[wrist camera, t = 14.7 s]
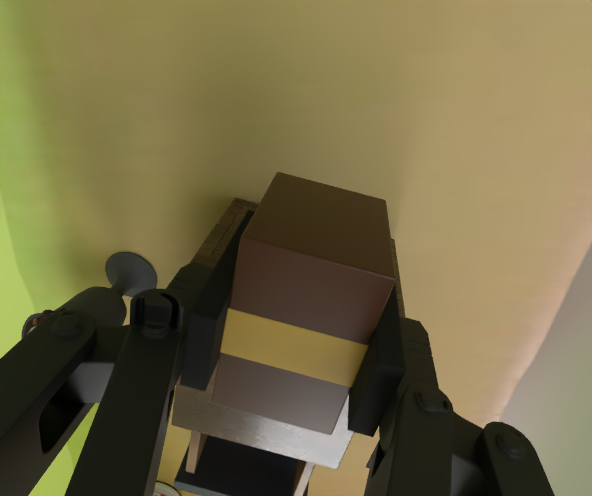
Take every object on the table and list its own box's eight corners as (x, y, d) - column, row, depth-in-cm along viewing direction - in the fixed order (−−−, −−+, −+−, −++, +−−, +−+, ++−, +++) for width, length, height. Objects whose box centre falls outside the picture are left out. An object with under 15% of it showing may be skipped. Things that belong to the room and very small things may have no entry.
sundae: (157, 242, 37) (47, 364, 24) (172, 305, 40) (82, 442, 27) (88, 242, 38) (-53, 359, 25) (108, 303, 41) (-9, 435, 28)
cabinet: (342, 372, 42) (337, 470, 33) (211, 337, 42) (170, 425, 33) (394, 239, 34) (406, 319, 25) (234, 197, 34) (189, 261, 25)
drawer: (299, 473, 49) (288, 554, 41) (197, 445, 49) (168, 521, 41) (348, 347, 39) (344, 424, 32) (220, 313, 39) (187, 381, 32)
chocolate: (276, 170, 16) (239, 236, 11) (386, 199, 16) (398, 279, 11) (247, 306, 19) (209, 403, 14) (339, 330, 19) (332, 437, 14)
